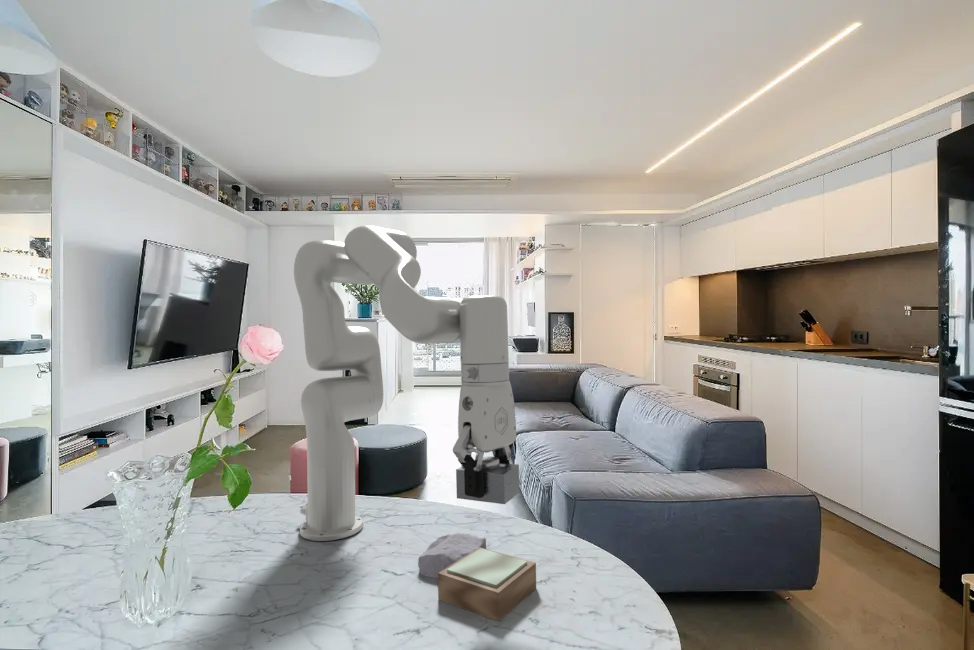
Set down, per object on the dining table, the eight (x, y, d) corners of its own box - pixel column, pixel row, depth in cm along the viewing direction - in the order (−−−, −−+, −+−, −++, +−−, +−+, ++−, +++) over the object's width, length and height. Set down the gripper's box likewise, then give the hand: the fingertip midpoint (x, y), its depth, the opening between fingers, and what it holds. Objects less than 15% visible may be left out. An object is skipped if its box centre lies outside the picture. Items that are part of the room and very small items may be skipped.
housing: (504, 504, 75) (503, 466, 75) (456, 498, 78) (455, 461, 78) (519, 492, 80) (518, 456, 80) (474, 487, 84) (473, 453, 84)
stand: (438, 599, 78) (437, 570, 78) (479, 570, 87) (479, 544, 87) (498, 621, 72) (498, 589, 72) (536, 588, 81) (535, 560, 81)
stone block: (415, 586, 86) (469, 582, 83) (410, 557, 86) (464, 552, 83) (442, 559, 97) (491, 554, 94) (437, 533, 97) (486, 528, 94)
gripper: (472, 380, 70) (475, 510, 70) (533, 371, 85) (536, 479, 84) (430, 378, 75) (433, 501, 74) (495, 370, 89) (498, 473, 88)
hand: (488, 488), depth 79 cm, fingers closed on housing, 6 cm apart
